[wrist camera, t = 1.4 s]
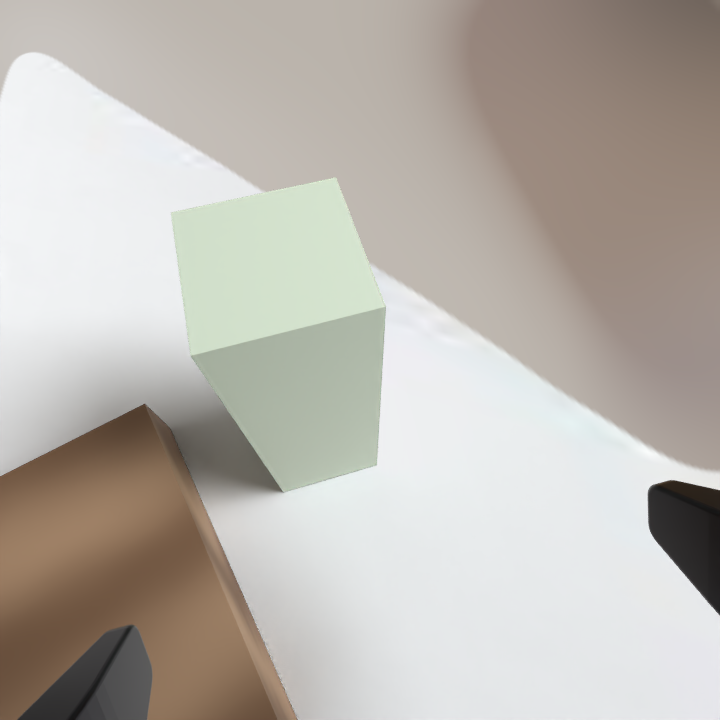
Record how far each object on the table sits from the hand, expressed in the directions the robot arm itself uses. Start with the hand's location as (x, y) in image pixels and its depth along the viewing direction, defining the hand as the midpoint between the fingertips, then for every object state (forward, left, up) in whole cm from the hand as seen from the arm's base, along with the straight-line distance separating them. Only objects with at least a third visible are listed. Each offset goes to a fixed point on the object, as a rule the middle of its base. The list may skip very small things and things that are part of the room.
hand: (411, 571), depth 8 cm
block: (+3, +7, -13) cm, 15 cm away
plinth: (-8, +7, -13) cm, 17 cm away
